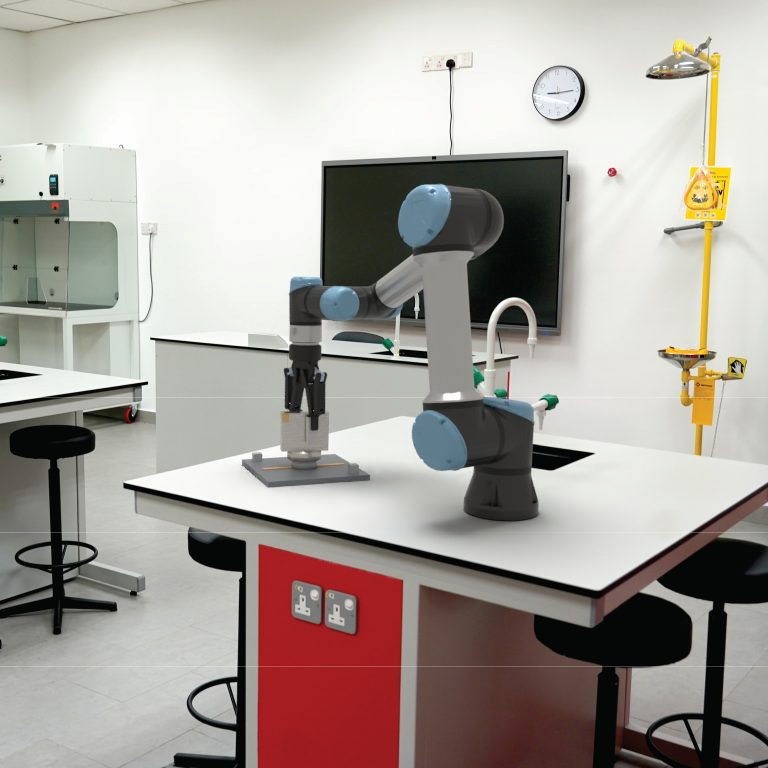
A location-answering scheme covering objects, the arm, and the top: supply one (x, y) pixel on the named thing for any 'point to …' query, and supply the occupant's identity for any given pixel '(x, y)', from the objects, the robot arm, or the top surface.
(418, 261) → the robot arm
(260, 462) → the post plate
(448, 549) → the top surface
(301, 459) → the grey block knob
